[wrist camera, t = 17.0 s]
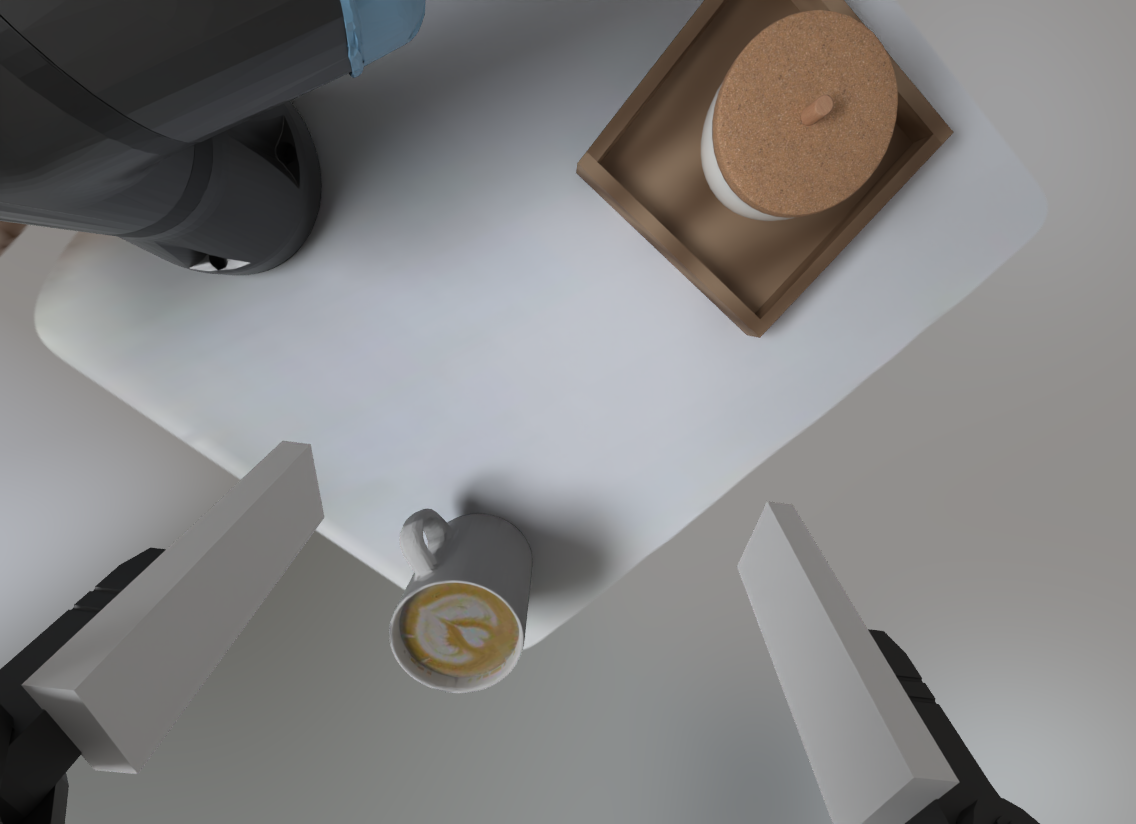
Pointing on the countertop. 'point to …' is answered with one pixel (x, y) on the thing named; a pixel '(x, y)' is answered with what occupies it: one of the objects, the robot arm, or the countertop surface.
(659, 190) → the walnut square tray
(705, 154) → the lidded jar
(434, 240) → the countertop surface
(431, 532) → the coffee mug
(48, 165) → the robot arm
